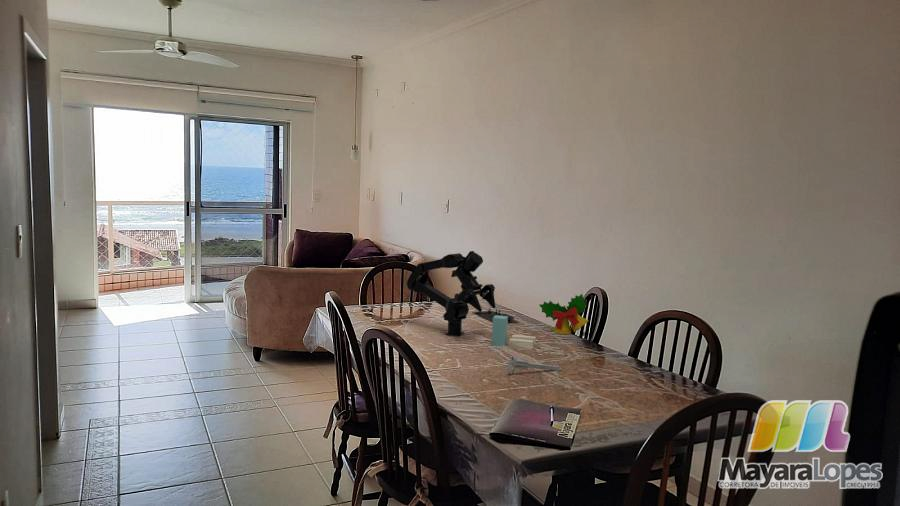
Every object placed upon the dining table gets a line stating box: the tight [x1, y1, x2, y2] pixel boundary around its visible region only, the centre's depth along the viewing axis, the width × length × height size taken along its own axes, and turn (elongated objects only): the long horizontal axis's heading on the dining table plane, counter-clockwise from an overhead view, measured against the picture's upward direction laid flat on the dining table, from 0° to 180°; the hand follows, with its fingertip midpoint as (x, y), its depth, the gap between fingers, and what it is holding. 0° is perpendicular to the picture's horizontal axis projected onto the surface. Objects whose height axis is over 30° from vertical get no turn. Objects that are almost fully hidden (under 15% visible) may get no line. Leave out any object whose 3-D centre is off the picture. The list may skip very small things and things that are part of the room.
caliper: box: [507, 355, 563, 375], centre depth 214 cm, size 21×1×6 cm, turn 111°
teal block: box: [491, 315, 508, 347], centre depth 248 cm, size 5×5×11 cm
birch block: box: [508, 334, 537, 351], centre depth 247 cm, size 9×9×4 cm
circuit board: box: [471, 307, 520, 324], centre depth 297 cm, size 25×14×3 cm, turn 25°
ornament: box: [538, 293, 589, 335], centre depth 271 cm, size 22×9×16 cm, turn 62°
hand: (487, 309), depth 251 cm, fingers open, 9 cm apart
